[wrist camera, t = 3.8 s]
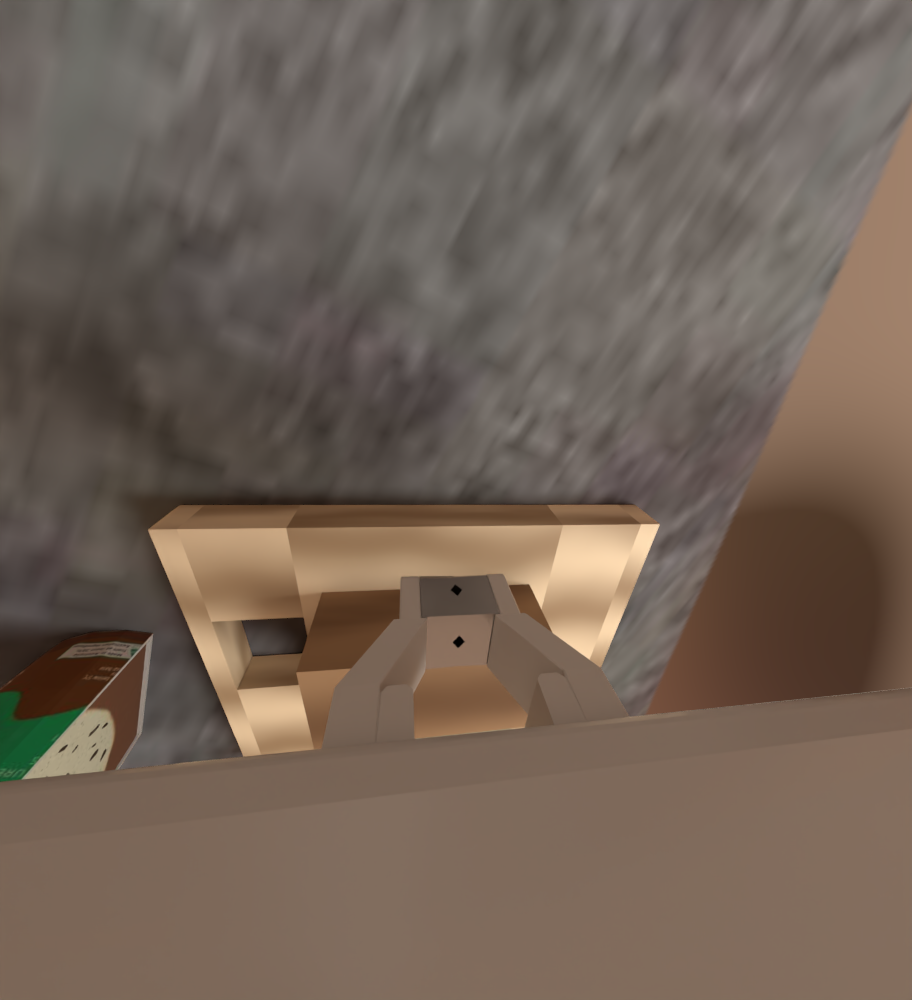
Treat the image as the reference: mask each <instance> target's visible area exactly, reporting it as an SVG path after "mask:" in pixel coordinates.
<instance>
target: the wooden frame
mask: <svg viewBox="0 0 912 1000" xmlns="http://www.w3.org/2000/svg"><path fill="white" fill-rule="evenodd" d="M659 525H660V524H659V523H658V522H656V521H655V520H654V519H652V518H651V517H650V516H649V515H647V514H646V513H645V512H643V511H642V510H641V509H640V508H638V507H637V506H636V505H179V506H178V507H176V508H175V509H174V510H172V511H171V512H170V513H169V514H167V515H166V516H165V517H163V518H162V519H161V520H160V521H158V522H157V523H156V524H154V525H153V526H152V527H150V528H149V529H148V531H149V534H150V536H151V538H152V541H153V543H154V546H155V548H156V550H157V553H158V555H159V557H160V560H161V562H162V564H163V567H164V569H165V572H166V574H167V576H168V579H169V581H170V583H171V586H172V588H173V591H174V593H175V595H176V598H177V600H178V602H179V605H180V607H181V609H182V612H183V614H184V617H185V619H186V621H187V624H188V626H189V628H190V631H191V633H192V636H193V638H194V640H195V643H196V645H197V647H198V650H199V652H200V654H201V657H202V659H203V662H204V664H205V666H206V669H207V671H208V673H209V676H210V678H211V681H212V683H213V685H214V688H215V690H216V692H217V695H218V697H219V700H220V702H221V704H222V707H223V709H224V711H225V714H226V716H227V718H228V721H229V723H230V726H231V728H232V730H233V733H234V735H235V737H236V740H237V742H238V745H239V747H240V749H241V752H242V754H243V756H244V757H245V756H255V755H265V754H274V753H284V752H294V751H304V750H313V749H314V747H313V743H312V738H311V734H310V730H309V725H308V721H307V717H306V713H305V708H304V704H303V700H302V696H301V691H300V687H299V683H298V678H297V674H296V671H297V668H298V665H299V662H300V659H301V656H302V653H300V654H284V655H269V656H252V653H251V650H250V647H249V643H248V640H247V637H246V634H245V631H244V628H243V624H242V621H241V620H256V619H277V618H297V617H304V621H305V627H306V632H307V637H308V634H309V631H310V628H311V625H312V622H313V619H314V616H315V613H316V609H317V606H318V603H319V600H320V597H321V594H322V592H345V591H371V590H397V589H400V580H401V577H410V576H418V577H419V576H470V575H486V574H503V575H504V576H505V578H506V580H507V583H508V585H527V584H529V585H530V587H531V589H532V591H533V593H534V595H535V597H536V599H537V601H538V603H539V606H540V608H541V610H542V612H543V614H544V616H545V618H546V620H547V622H548V624H549V626H550V628H551V631H552V633H553V634H555V635H556V636H558V637H559V638H560V639H562V640H563V641H564V642H566V643H567V644H569V645H570V646H571V647H573V648H574V649H575V650H577V651H578V652H580V653H581V654H582V655H584V656H585V657H586V658H588V659H589V660H590V661H592V662H593V663H595V664H596V665H597V666H599V667H600V668H601V666H602V663H603V661H604V658H605V656H606V654H607V651H608V649H609V646H610V644H611V641H612V639H613V637H614V634H615V632H616V629H617V627H618V625H619V622H620V620H621V617H622V615H623V612H624V610H625V608H626V605H627V603H628V600H629V598H630V595H631V593H632V591H633V588H634V586H635V583H636V581H637V578H638V576H639V574H640V571H641V569H642V566H643V564H644V561H645V559H646V557H647V554H648V552H649V549H650V547H651V544H652V542H653V540H654V537H655V535H656V532H657V530H658V527H659ZM519 728H525V727H519ZM510 729H518V728H510ZM501 730H508V729H501ZM491 731H498V730H491ZM482 732H489V731H482ZM472 733H479V732H472ZM463 734H469V733H463ZM454 735H459V734H454ZM444 736H449V735H444ZM435 737H440V736H435ZM425 738H430V737H425ZM416 739H420V738H416Z"/></svg>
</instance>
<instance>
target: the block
mask: <svg viewBox="0 0 912 1000" xmlns="http://www.w3.org/2000/svg"><path fill="white" fill-rule="evenodd" d="M509 588H510V590H511V592H512V595H513V597H514V599H515V602H516V604H517V606H518V609H519V611H520V613H526V614H527V615H529V616H530V617H532V618H533V619H534V620H536V621H537V622H538V623H540V624H541V625H543V626H544V627H545V628H547V629H548V630H549V631H551V628H550V626H549V624H548V622H547V620H546V618H545V616H544V614H543V612H542V610H541V608H540V606H539V603H538V601H537V599H536V597H535V595H534V593H533V591H532V589H531V587H530V585H529V584H527V585H509ZM399 614H400V589H397V590H371V591H345V592H322V594H321V597H320V600H319V603H318V606H317V609H316V613H315V616H314V619H313V622H312V625H311V628H310V631H309V634H308V637H307V640H306V643H305V647H304V650H303V653H302V656H301V659H300V662H299V665H298V668H297V671H296V674H297V678H298V683H299V687H300V691H301V696H302V700H303V704H304V708H305V713H306V717H307V721H308V725H309V730H310V734H311V738H312V743H313V747H314V749H321V748H322V744H323V739H324V734H325V730H326V725H327V721H328V716H329V711H330V707H331V702H332V698H333V693H334V688H335V687H336V686H337V684H338V683H339V682H340V681H341V680H342V679H343V678H344V676H345V675H346V674H347V673H348V672H349V671H350V669H351V668H352V667H353V666H354V665H355V664H356V663H357V661H358V660H359V659H360V658H361V657H362V656H363V654H364V653H365V652H366V651H367V650H368V649H369V648H370V646H371V645H372V644H373V643H374V642H375V641H376V639H377V638H378V637H379V636H380V635H381V634H382V633H383V631H384V630H385V629H386V628H387V627H388V626H389V624H390V623H391V622H392V621H393V620H394V619H399ZM551 632H552V631H551ZM413 701H414V737H415V739H416V738H425V737H435V736H444V735H454V734H463V733H472V732H482V731H491V730H501V729H510V728H519V727H525V724H526V720H527V717H528V714H527V713H526V712H525V711H524V709H523V708H522V707H521V706H520V705H519V704H518V702H517V701H516V700H515V699H514V698H513V696H512V695H511V694H510V693H509V692H508V691H507V689H506V688H505V687H504V686H503V685H502V684H501V682H500V681H499V680H498V679H497V678H496V677H495V675H494V674H493V673H492V672H491V671H490V669H489V668H488V667H487V665H472V666H453V667H443V668H433V669H425V673H424V675H423V676H422V678H421V680H420V682H419V684H418V686H417V688H416V690H415V691H414V693H413Z"/></svg>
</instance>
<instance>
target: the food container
mask: <svg viewBox="0 0 912 1000" xmlns="http://www.w3.org/2000/svg"><path fill="white" fill-rule="evenodd" d="M152 639H153V633H146V632H137V631H129V630H123V631H102V632H91V633H87V634H84V635H80V636H77V637H73V638H69V639H66V640H64V641H62V642H61V643H59V644H58V645H56V646H55V647H53V648H52V649H50V650H49V651H47V652H46V653H45V654H43V655H42V656H41V657H39V658H38V659H37V660H36V661H34V662H33V663H32V664H31V665H29V666H28V667H27V668H25V669H24V670H23V671H22V672H20V673H19V674H18V675H17V676H15V677H14V678H13V679H11V680H10V681H9V682H8V683H6V684H5V685H4V686H3V687H1V688H0V782H3V781H12V780H22V779H32V778H42V777H51V776H61V775H71V774H80V773H90V772H100V771H110V770H119V768H120V766H121V765H122V763H123V762H124V760H125V758H126V757H127V755H128V754H129V752H130V751H131V749H132V747H133V746H134V744H135V743H136V741H137V739H138V738H139V736H140V735H141V733H142V726H143V718H144V709H145V700H146V692H147V683H148V674H149V666H150V657H151V648H152Z"/></svg>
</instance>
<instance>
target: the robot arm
mask: <svg viewBox="0 0 912 1000" xmlns="http://www.w3.org/2000/svg"><path fill="white" fill-rule="evenodd" d="M472 665H487V667H488V668H489V669H490V671H491V672H492V673H493V674H494V675H495V677H496V678H497V679H498V680H499V681H500V682H501V684H502V685H503V686H504V687H505V688H506V689H507V691H508V692H509V693H510V694H511V695H512V696H513V698H514V699H515V700H516V701H517V702H518V704H519V705H520V706H521V707H522V708H523V709H524V711H525V712H526V713H527V714H528V717H527V720H526V724H525V728H518V729H508V730H498V731H489V732H479V733H469V734H459V735H449V736H440V737H430V738H420V739H415V737H414V701H413V693H414V691H415V690H416V688H417V686H418V684H419V682H420V680H421V678H422V676H423V675H424V673H425V669H433V668H443V667H453V666H472ZM0 1000H912V688H904V689H895V690H885V691H876V692H866V693H856V694H847V695H837V696H827V697H817V698H808V699H798V700H788V701H779V702H769V703H759V704H749V705H740V706H730V707H720V708H710V709H701V710H691V711H681V712H671V713H662V714H652V715H642V716H633V717H629V715H628V713H627V712H626V710H625V708H624V707H623V705H622V703H621V701H620V700H619V698H618V696H617V695H616V693H615V691H614V690H613V688H612V686H611V685H610V683H609V681H608V680H607V678H606V676H605V674H604V673H603V671H602V669H601V668H600V667H599V666H597V665H596V664H595V663H593V662H592V661H590V660H589V659H588V658H586V657H585V656H584V655H582V654H581V653H580V652H578V651H577V650H575V649H574V648H573V647H571V646H570V645H569V644H567V643H566V642H564V641H563V640H562V639H560V638H559V637H558V636H556V635H555V634H553V633H552V632H551V631H549V630H548V629H547V628H545V627H544V626H543V625H541V624H540V623H538V622H537V621H536V620H534V619H533V618H532V617H530V616H529V615H527V614H526V613H520V611H519V609H518V606H517V604H516V602H515V599H514V597H513V595H512V592H511V590H510V588H509V585H508V583H507V580H506V578H505V576H504V575H503V574H486V575H470V576H419V577H418V576H410V577H401V580H400V614H399V619H394V620H393V621H392V622H391V623H390V624H389V626H388V627H387V628H386V629H385V630H384V631H383V633H382V634H381V635H380V636H379V637H378V638H377V639H376V641H375V642H374V643H373V644H372V645H371V646H370V648H369V649H368V650H367V651H366V652H365V653H364V654H363V656H362V657H361V658H360V659H359V660H358V661H357V663H356V664H355V665H354V666H353V667H352V668H351V669H350V671H349V672H348V673H347V674H346V675H345V676H344V678H343V679H342V680H341V681H340V682H339V683H338V684H337V686H336V687H335V688H334V693H333V698H332V702H331V707H330V711H329V716H328V721H327V725H326V730H325V734H324V739H323V744H322V748H321V749H313V750H304V751H294V752H284V753H274V754H265V755H255V756H245V757H236V758H226V759H216V760H207V761H197V762H187V763H177V764H168V765H158V766H148V767H139V768H129V769H119V770H110V771H100V772H90V773H80V774H71V775H61V776H51V777H42V778H32V779H22V780H12V781H3V782H0Z"/></svg>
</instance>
